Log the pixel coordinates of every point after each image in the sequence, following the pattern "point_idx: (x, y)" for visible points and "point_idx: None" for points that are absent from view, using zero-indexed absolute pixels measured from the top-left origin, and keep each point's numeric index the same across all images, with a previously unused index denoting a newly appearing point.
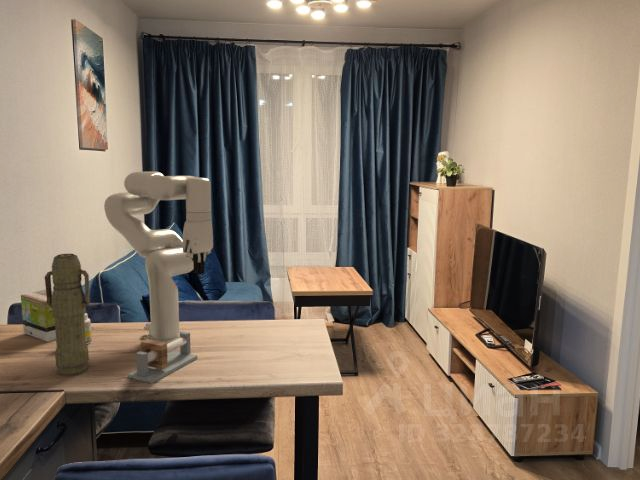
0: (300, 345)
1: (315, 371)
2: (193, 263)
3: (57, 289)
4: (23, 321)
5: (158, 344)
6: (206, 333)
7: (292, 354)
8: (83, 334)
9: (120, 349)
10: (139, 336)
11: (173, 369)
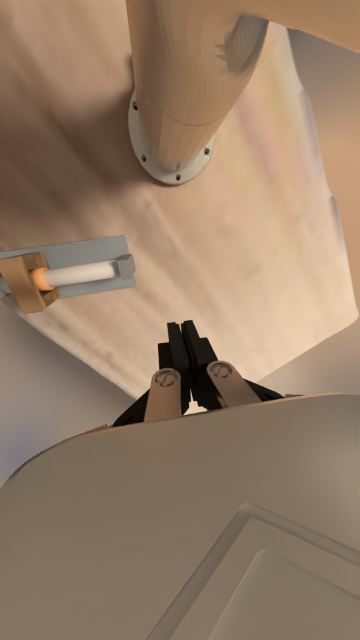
0: (251, 358)
1: (190, 406)
2: (172, 353)
3: None
4: None
5: (22, 304)
6: (240, 200)
7: None
8: None
9: (51, 81)
10: None
11: (75, 295)
